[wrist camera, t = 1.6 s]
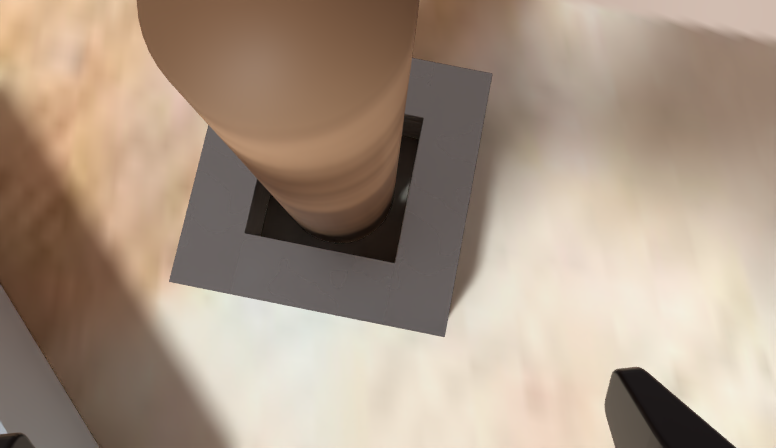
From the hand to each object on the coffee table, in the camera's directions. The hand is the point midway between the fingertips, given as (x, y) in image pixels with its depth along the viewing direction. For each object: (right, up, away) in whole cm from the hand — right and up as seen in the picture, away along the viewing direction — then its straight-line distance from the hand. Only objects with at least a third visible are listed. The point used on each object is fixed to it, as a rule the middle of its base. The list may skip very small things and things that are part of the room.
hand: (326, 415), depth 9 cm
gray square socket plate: (-1, +4, +13) cm, 14 cm away
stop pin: (-1, +4, +13) cm, 14 cm away
